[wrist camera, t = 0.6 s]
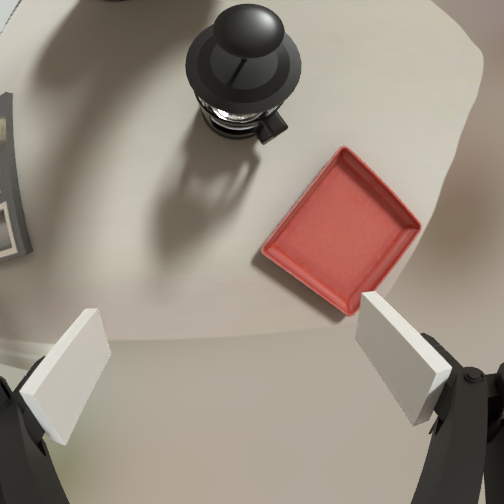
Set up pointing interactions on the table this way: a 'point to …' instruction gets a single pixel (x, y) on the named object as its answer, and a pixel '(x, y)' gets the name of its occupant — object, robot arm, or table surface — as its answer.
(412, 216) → the red serving tray
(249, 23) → the french press
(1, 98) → the grey flat slotted block
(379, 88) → the table surface
